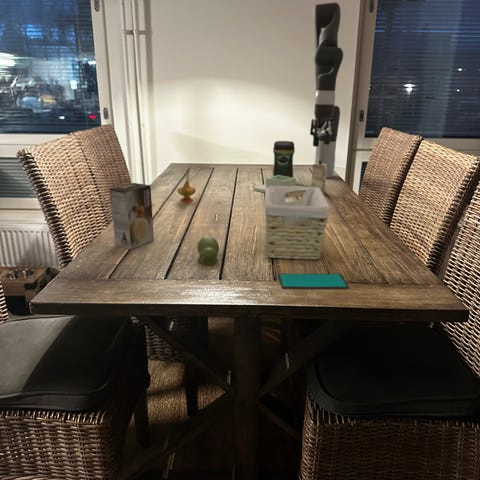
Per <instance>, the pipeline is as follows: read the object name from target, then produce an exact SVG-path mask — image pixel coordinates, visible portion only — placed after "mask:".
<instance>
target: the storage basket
mask: <svg viewBox="0 0 480 480" xmlns="http://www.w3.org/2000/svg"><path fill="white" fill-rule="evenodd" d="M296 186H297V185H296ZM296 186H269V187H267V188H266V192H265V193H264V215H265V222H266V223H265V226H266V228H265V233H264V245H265V246H264V248H265V256H266V257H268V258H272V259H275V258H276V259H286V260H290V259H293V260H306V261H307V260H315V261H316V260H320V258H321V254H322V251H323V246H324V238H325V233H326V232H325V231H326V228H327V225H328V221H329V216H330V205H329V203H328V201H327V199H326V197H325V196H324V193H322V192H321V190H320V189H319V188H318V187H312V186H301V187H296ZM285 196H286V197H295V198H299V199H296V200H293V201H287V202H286V197H285Z"/></svg>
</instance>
